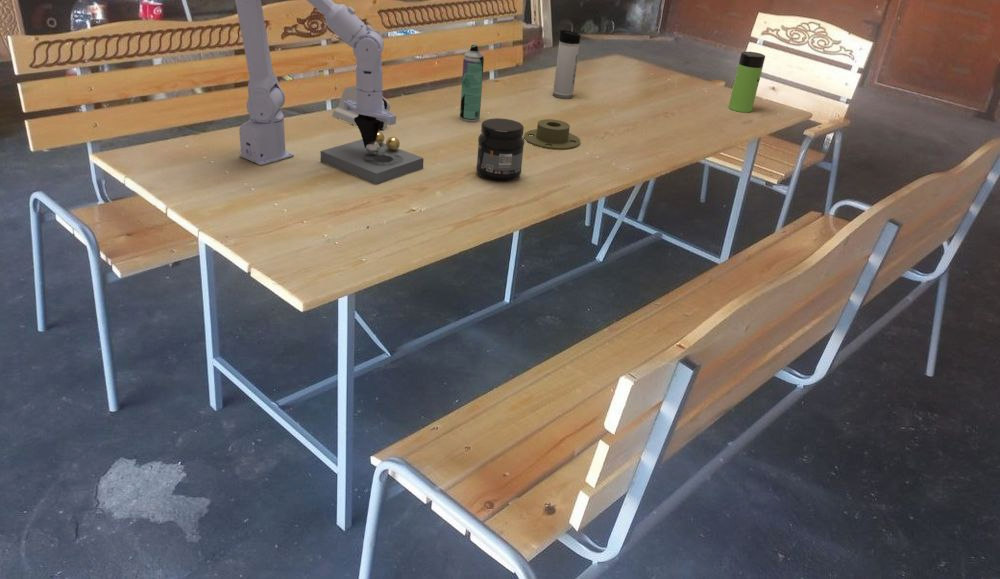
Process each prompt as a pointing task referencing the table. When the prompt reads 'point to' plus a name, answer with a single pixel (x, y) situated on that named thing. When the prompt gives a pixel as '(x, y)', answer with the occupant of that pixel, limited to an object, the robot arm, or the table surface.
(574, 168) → the table surface
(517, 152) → the supplement container
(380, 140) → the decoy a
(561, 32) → the travel mug
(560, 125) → the flange
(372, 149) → the ball
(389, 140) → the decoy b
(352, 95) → the grey rounded bracket
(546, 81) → the table surface
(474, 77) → the spray can
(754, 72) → the tumbler
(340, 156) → the plate
